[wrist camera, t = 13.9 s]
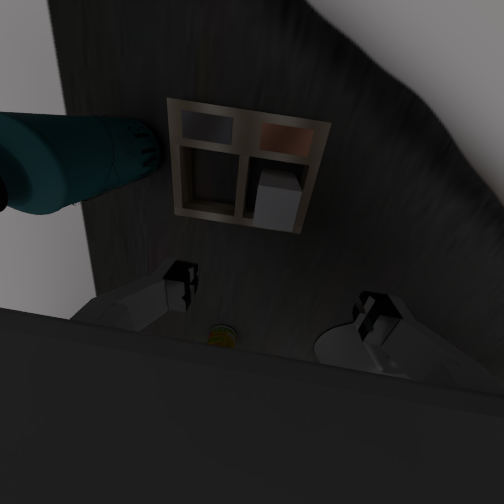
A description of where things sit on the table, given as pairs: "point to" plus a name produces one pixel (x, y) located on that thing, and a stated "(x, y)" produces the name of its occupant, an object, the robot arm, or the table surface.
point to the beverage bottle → (69, 158)
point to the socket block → (240, 153)
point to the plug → (277, 200)
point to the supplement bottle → (222, 336)
